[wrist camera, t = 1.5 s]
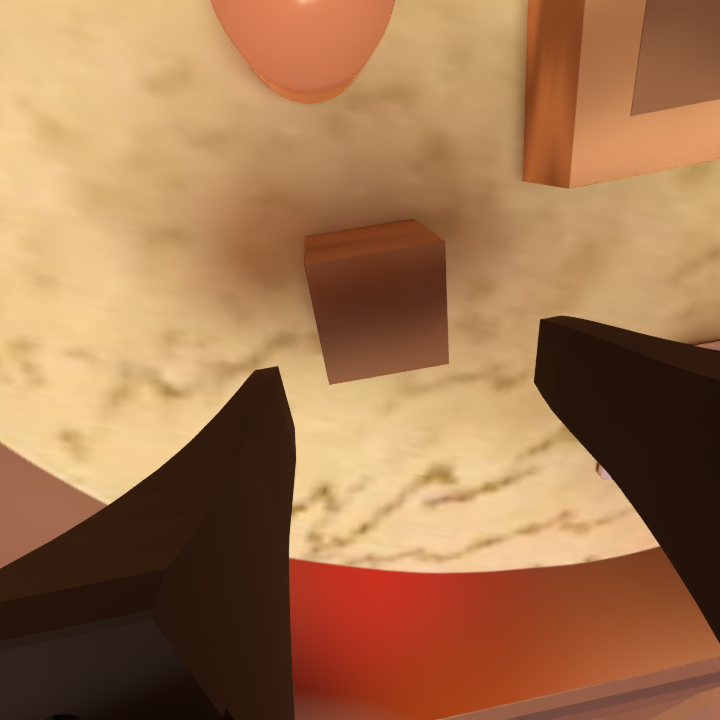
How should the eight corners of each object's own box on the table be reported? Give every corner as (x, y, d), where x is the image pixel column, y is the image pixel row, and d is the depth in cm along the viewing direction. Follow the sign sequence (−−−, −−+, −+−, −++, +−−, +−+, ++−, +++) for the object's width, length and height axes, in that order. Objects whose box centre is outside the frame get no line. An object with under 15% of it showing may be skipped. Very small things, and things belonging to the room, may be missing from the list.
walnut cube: (419, 317, 21) (448, 363, 16) (325, 334, 21) (329, 384, 16) (413, 218, 18) (444, 241, 14) (305, 236, 18) (304, 264, 14)
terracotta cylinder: (379, 93, 16) (405, 72, 11) (255, 112, 16) (233, 98, 11) (362, -83, 13) (388, -193, 9) (216, -62, 13) (169, -165, 9)
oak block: (708, 143, 18) (802, 142, 15) (519, 180, 18) (569, 188, 15) (773, -142, 14) (929, -238, 11) (526, -96, 14) (600, -179, 10)
